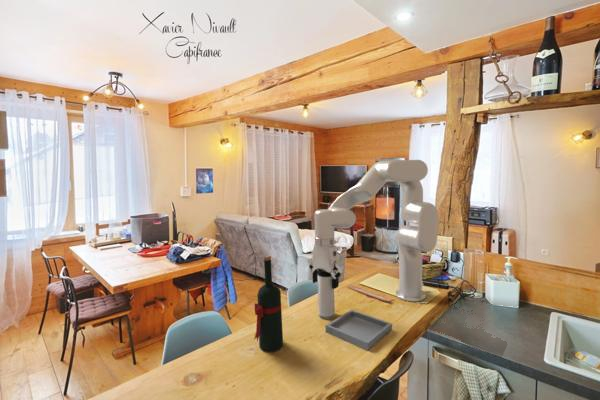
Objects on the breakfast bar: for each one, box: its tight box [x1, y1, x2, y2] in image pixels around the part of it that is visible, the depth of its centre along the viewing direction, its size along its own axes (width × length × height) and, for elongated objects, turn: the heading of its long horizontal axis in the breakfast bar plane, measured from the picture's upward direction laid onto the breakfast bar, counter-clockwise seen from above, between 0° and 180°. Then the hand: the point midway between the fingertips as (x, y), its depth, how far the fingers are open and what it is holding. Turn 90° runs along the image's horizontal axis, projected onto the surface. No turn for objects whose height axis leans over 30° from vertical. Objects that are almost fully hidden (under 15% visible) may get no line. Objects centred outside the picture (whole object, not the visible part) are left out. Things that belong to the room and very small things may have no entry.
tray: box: [324, 309, 393, 352], centre depth 106 cm, size 16×17×2 cm
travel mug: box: [317, 269, 336, 320], centre depth 117 cm, size 6×7×20 cm
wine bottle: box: [253, 254, 284, 353], centre depth 97 cm, size 8×10×30 cm
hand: (325, 284), depth 117 cm, fingers open, 9 cm apart
